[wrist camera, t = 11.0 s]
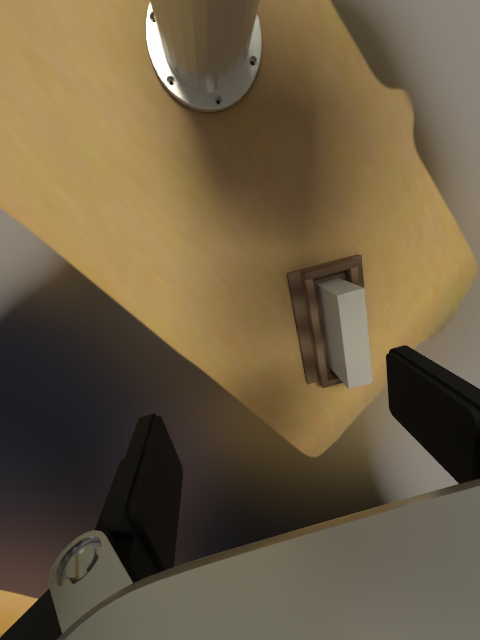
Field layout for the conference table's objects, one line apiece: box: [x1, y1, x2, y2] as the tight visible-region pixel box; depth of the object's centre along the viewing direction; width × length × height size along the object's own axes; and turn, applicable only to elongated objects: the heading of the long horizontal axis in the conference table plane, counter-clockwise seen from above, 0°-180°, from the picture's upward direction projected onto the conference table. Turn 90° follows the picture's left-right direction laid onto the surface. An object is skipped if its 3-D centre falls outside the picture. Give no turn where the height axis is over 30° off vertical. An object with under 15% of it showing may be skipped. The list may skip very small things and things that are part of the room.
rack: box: [287, 255, 364, 388], centre depth 42 cm, size 19×11×3 cm, turn 14°
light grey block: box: [316, 278, 373, 389], centre depth 39 cm, size 14×4×7 cm, turn 14°
